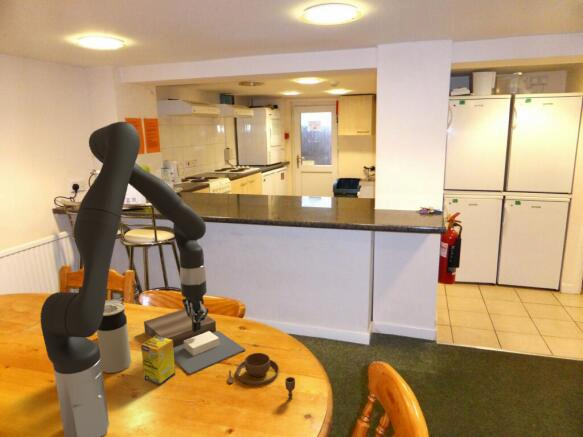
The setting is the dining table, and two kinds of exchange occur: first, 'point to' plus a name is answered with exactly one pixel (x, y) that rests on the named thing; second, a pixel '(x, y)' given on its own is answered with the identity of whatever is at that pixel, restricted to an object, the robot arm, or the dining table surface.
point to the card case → (201, 343)
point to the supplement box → (158, 359)
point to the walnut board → (177, 327)
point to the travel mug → (114, 339)
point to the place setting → (261, 371)
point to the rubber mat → (206, 354)
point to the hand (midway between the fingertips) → (196, 331)
